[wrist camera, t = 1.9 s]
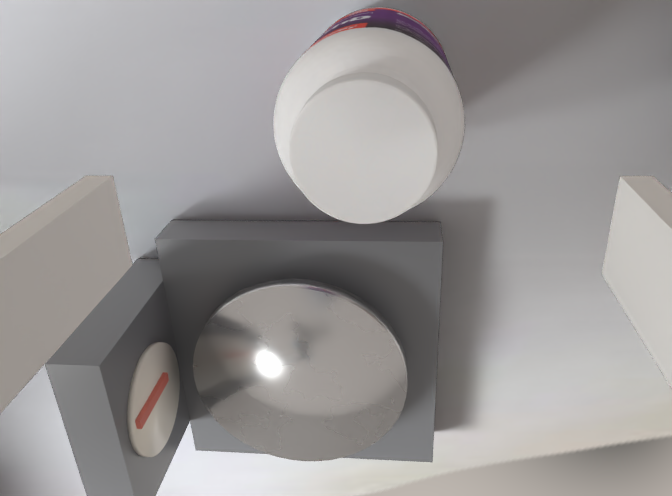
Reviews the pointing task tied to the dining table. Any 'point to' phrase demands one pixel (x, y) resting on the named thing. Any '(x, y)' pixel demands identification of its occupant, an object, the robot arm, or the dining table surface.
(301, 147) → the pill bottle
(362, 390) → the scale pan
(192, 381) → the dial scale
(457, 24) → the dining table surface
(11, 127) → the dining table surface
